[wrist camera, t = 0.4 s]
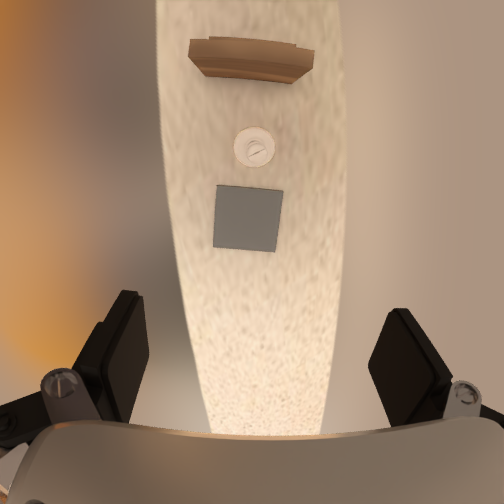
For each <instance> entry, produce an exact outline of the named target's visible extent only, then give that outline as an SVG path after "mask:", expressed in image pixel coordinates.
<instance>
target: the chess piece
mask: <svg viewBox="0 0 504 504" xmlns="http://www.w3.org/2000/svg"><path fill="white" fill-rule="evenodd" d="M233 150H234V154H235V156H236V158H237V159H238V160H239V161H240V162H241V163H242V164H243V165H245V166H248V167H261V166H263V165H265V164H267V163H268V162H269V161H270V160H271V159H272V157H273V155H274V153H275V141H274V139H273V137H272V135H271V134H270V133H269V132H268V131H267V130H265V129H263V128H260V127H249V128H246V129H244V130H242V131H241V132H240V133H239V134H238V135H237V136H236V138H235V140H234V145H233Z"/></svg>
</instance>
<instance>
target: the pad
mask: <svg viewBox="0 0 504 504" xmlns="http://www.w3.org/2000/svg"><path fill="white" fill-rule="evenodd" d="M282 198H283V191H279V190H269V189H258V188H248V187H236V186H224V185H217V191H216V206H215V221H214V237H213V247H216V248H229V249H241V250H253V251H265V252H275V250H276V243H277V235H278V228H279V221H280V213H281V206H282Z"/></svg>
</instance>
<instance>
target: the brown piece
mask: <svg viewBox="0 0 504 504" xmlns="http://www.w3.org/2000/svg"><path fill="white" fill-rule="evenodd" d="M188 57H189V58H190V59H191V61H192V62H193V63H194V64H195V65H196V66H197V67H198V68H199V70H200V71H201V72H202V73H203V74H204V75H205V76H209V77H228V78H242V79H253V80H263V81H272V82H280V83H287V84H292V83H293V82H295V81H296V80H297V79H299V78H300V77H301V76H303V75H304V74H305V73H307V72H308V71H309V70H311V69H312V68H313V60H314V50H308V49H302V48H296V44H290V43H282V42H275V41H266V40H257V39H246V38H232V37H209V40H208V39H190V45H189V53H188Z"/></svg>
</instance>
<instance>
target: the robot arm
mask: <svg viewBox="0 0 504 504" xmlns="http://www.w3.org/2000/svg"><path fill="white" fill-rule="evenodd" d="M148 358H149V347H148V339H147V331H146V322H145V312H144V302H143V297H142V296H139V295H138V292H137V291H129V290H122V291H121V292H120V294H119V296H118V298H117V299H116V301H115V302H114V304H113V306H112V308H111V309H110V311H109V313H108V314H107V316H106V318H105V320H104V321H103V322H98V323H97V324H96V326H95V327H94V329H93V331H92V333H91V335H90V336H89V338H88V340H87V341H86V343H85V345H84V347H83V349H82V350H81V352H80V354H79V356H78V357H77V359H76V361H75V363H74V365H73V367H72V369H68V368H58V369H54V370H52V371H50V372H49V373H47V374H46V375H45V376H44V377H43V379H42V381H41V384H40V388H41V391H39V392H36V393H33V394H31V395H28V396H26V397H23V398H20V399H17V400H15V401H12V402H9V403H6V404H4V405H1V406H0V504H504V415H503V414H501V413H499V412H497V411H495V410H493V409H490V408H488V407H486V406H484V405H482V404H481V401H482V399H481V394H480V391H479V390H478V389H477V387H475V386H474V385H473V384H471V383H469V382H467V381H460V380H459V381H456V382H454V383H453V384H452V382H451V379H452V377H453V375H452V374H451V372H450V371H449V369H448V367H447V366H446V365H445V363H444V361H443V360H442V358H441V357H440V355H439V354H438V352H437V350H436V349H435V347H434V346H433V344H432V343H431V341H430V340H429V339H428V337H427V336H426V334H425V332H424V331H423V330H422V328H421V327H420V325H419V324H418V322H417V321H416V319H415V318H414V317H413V315H412V314H411V312H410V311H409V310H408V309H407V308H394V309H393V310H392V311H391V312H389V313H388V315H387V318H386V320H385V323H384V325H383V328H382V331H381V333H380V336H379V338H378V341H377V343H376V346H375V348H374V350H373V353H372V355H371V357H370V360H369V363H368V369H369V372H370V374H371V376H372V379H373V381H374V384H375V386H376V389H377V392H378V394H379V397H380V399H381V402H382V404H383V407H384V409H385V412H386V415H387V417H388V420H389V422H390V425H391V427H390V428H383V429H376V430H368V431H358V432H348V433H336V434H321V435H297V436H253V435H228V434H213V433H201V432H191V431H182V430H172V429H164V428H157V427H149V426H143V425H136V424H129V420H130V417H131V413H132V410H133V407H134V404H135V400H136V397H137V394H138V390H139V387H140V384H141V381H142V377H143V374H144V371H145V368H146V365H147V362H148ZM11 483H12V485H11V487H10V491H9V493H8V489H9V485H10V484H11Z"/></svg>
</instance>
